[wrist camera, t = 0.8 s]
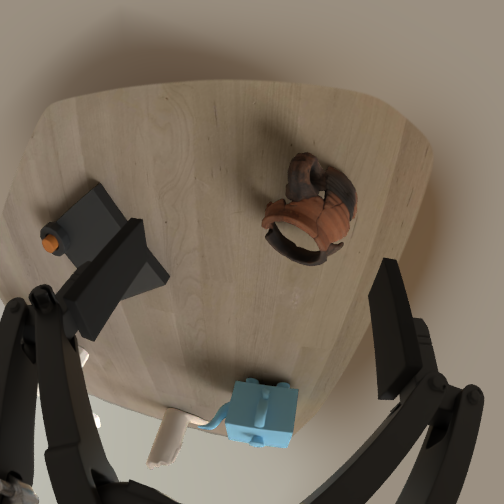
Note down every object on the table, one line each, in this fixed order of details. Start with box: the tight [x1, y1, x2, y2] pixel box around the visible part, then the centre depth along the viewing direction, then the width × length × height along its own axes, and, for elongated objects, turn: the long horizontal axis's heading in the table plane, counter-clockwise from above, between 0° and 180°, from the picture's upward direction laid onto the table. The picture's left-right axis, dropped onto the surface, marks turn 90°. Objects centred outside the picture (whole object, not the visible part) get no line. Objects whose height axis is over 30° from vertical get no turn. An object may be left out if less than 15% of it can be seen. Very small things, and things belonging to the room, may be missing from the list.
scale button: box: [42, 234, 59, 253], centre depth 39 cm, size 3×3×2 cm
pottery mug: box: [262, 152, 357, 266], centre depth 30 cm, size 12×10×8 cm
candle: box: [146, 408, 209, 470], centre depth 69 cm, size 7×14×20 cm, turn 75°
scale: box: [40, 183, 170, 301], centre depth 41 cm, size 18×16×4 cm
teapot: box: [198, 378, 298, 448], centre depth 53 cm, size 18×16×13 cm
